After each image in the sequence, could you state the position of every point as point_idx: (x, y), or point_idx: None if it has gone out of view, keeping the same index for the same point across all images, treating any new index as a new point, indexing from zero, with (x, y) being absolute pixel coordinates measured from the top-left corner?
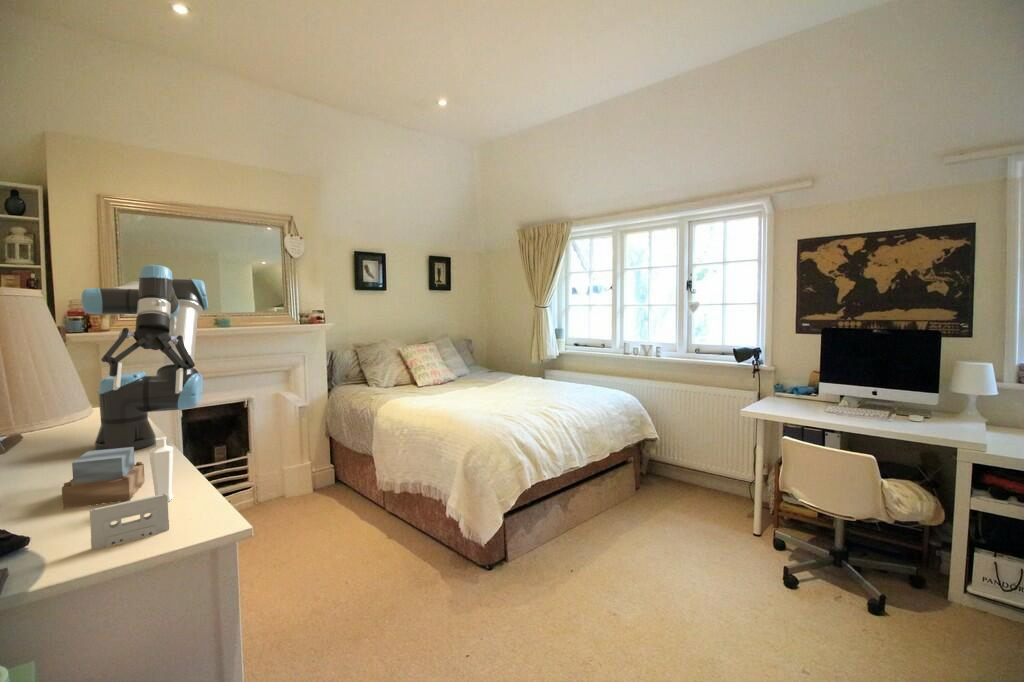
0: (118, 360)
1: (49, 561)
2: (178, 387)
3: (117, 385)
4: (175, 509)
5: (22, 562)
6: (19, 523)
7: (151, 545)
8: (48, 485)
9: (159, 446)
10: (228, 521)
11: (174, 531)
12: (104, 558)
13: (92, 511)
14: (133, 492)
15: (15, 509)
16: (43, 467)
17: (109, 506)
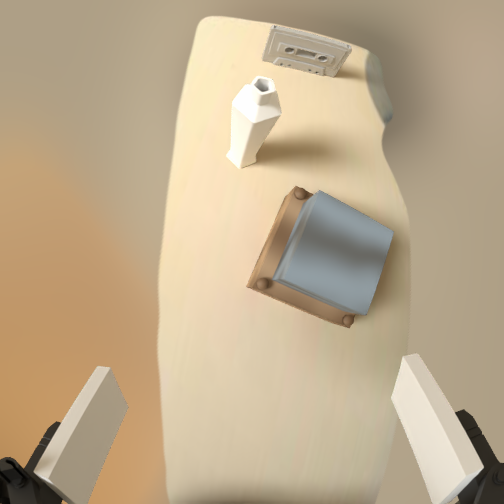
0: (489, 481)
1: (364, 82)
2: (106, 390)
3: (416, 360)
4: None
5: (383, 100)
6: (401, 222)
7: None
8: (366, 387)
9: (265, 89)
10: (203, 36)
11: (258, 51)
12: None
13: (349, 46)
14: (277, 217)
15: (405, 291)
16: (350, 484)
17: (333, 41)
